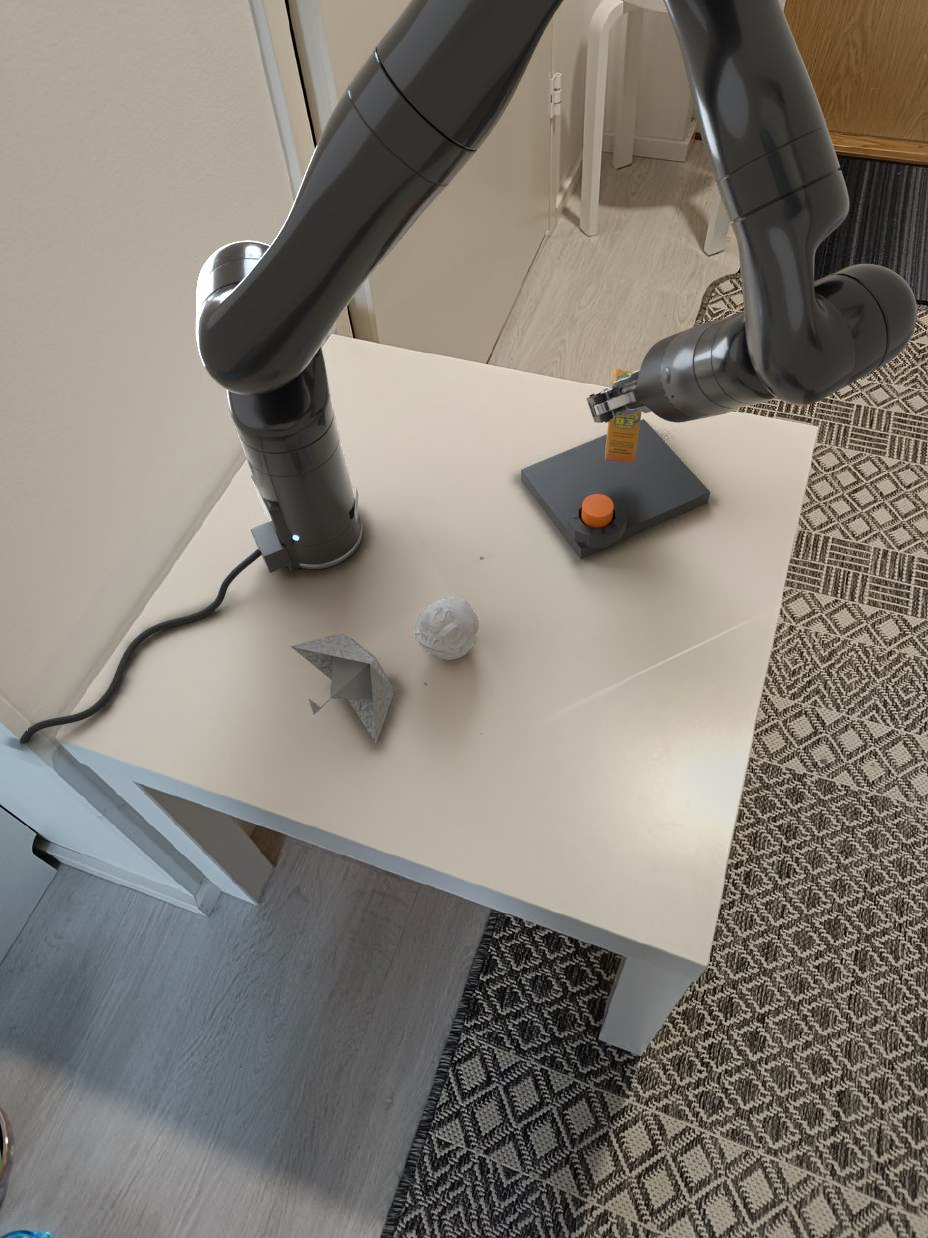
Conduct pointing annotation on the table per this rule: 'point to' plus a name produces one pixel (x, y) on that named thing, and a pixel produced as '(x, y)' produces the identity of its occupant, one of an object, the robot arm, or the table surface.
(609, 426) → the supplement box
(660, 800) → the table surface
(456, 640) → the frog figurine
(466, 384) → the table surface
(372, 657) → the gray faceted winged figurine
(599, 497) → the tare button
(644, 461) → the scale
